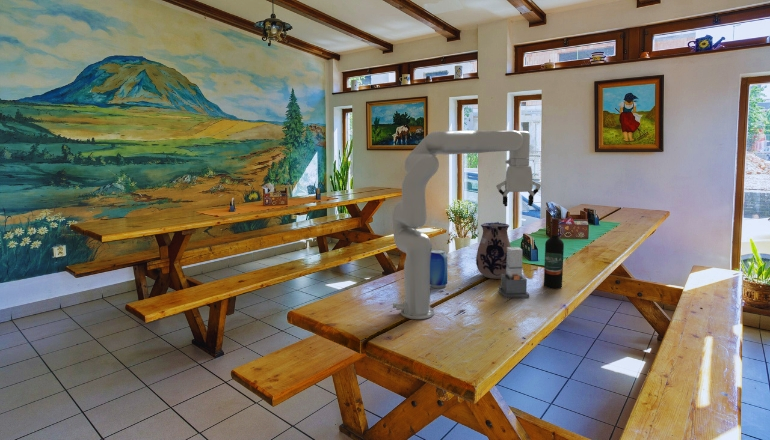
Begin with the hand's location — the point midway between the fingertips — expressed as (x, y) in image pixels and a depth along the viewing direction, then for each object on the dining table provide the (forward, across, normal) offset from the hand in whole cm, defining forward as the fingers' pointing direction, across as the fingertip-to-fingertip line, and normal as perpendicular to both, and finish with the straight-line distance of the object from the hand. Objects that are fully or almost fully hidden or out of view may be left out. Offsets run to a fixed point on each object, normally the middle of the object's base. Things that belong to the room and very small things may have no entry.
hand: (517, 205), depth 185 cm
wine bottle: (+38, +19, +13) cm, 44 cm away
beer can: (+38, -31, +14) cm, 51 cm away
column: (+36, 0, +2) cm, 36 cm away
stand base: (+38, 0, +2) cm, 38 cm away
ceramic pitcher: (+38, -4, +29) cm, 48 cm away
